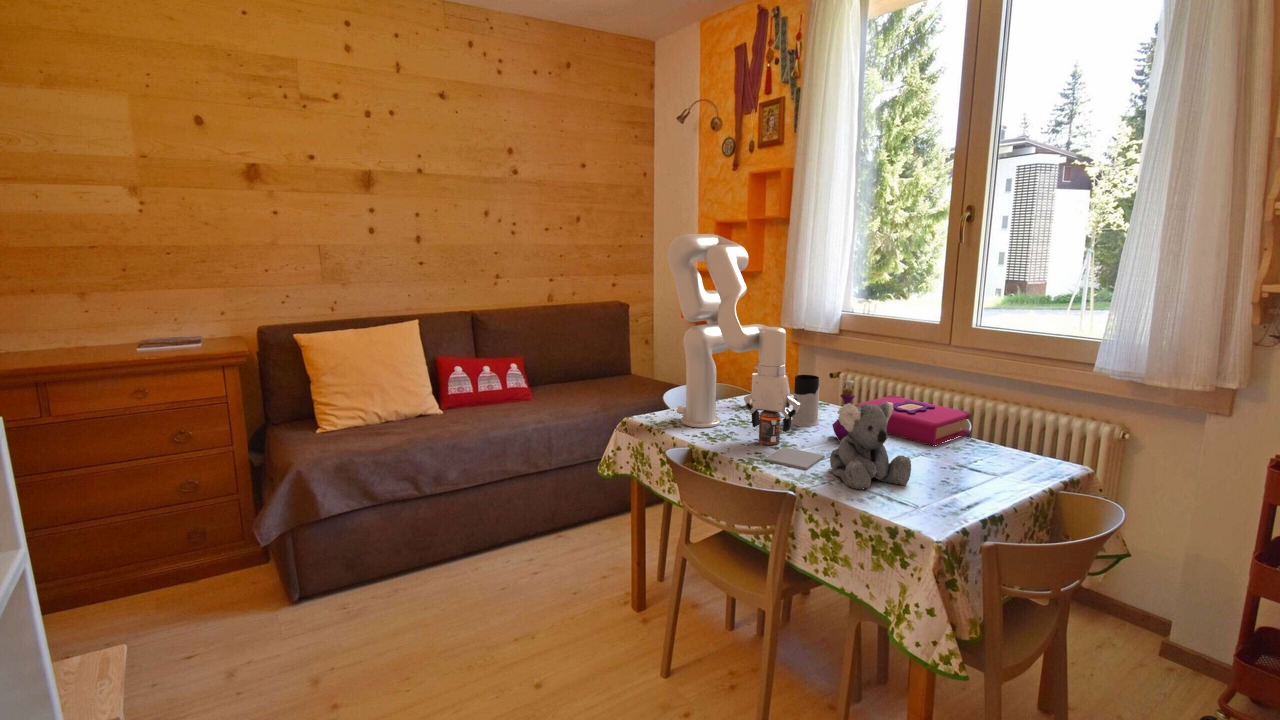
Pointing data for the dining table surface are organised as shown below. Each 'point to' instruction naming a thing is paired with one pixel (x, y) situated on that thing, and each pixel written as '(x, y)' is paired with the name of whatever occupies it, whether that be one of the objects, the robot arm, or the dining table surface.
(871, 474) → the koala plush
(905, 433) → the book
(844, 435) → the perfume bottle
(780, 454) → the grey mat
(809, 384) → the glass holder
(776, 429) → the supplement bottle
